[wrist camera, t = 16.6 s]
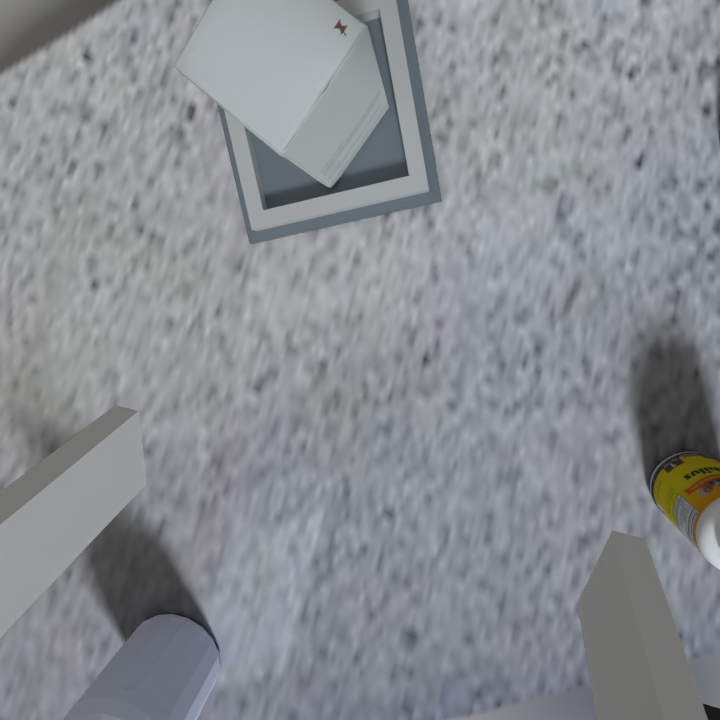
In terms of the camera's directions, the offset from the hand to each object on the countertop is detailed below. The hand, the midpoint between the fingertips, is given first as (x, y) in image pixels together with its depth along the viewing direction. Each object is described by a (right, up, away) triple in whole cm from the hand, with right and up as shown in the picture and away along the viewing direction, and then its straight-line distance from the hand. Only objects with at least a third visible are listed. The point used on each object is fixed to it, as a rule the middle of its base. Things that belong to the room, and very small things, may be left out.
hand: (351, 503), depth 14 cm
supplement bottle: (+25, -5, +25) cm, 36 cm away
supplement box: (-3, +22, +23) cm, 32 cm away
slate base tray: (-2, +22, +23) cm, 32 cm away
